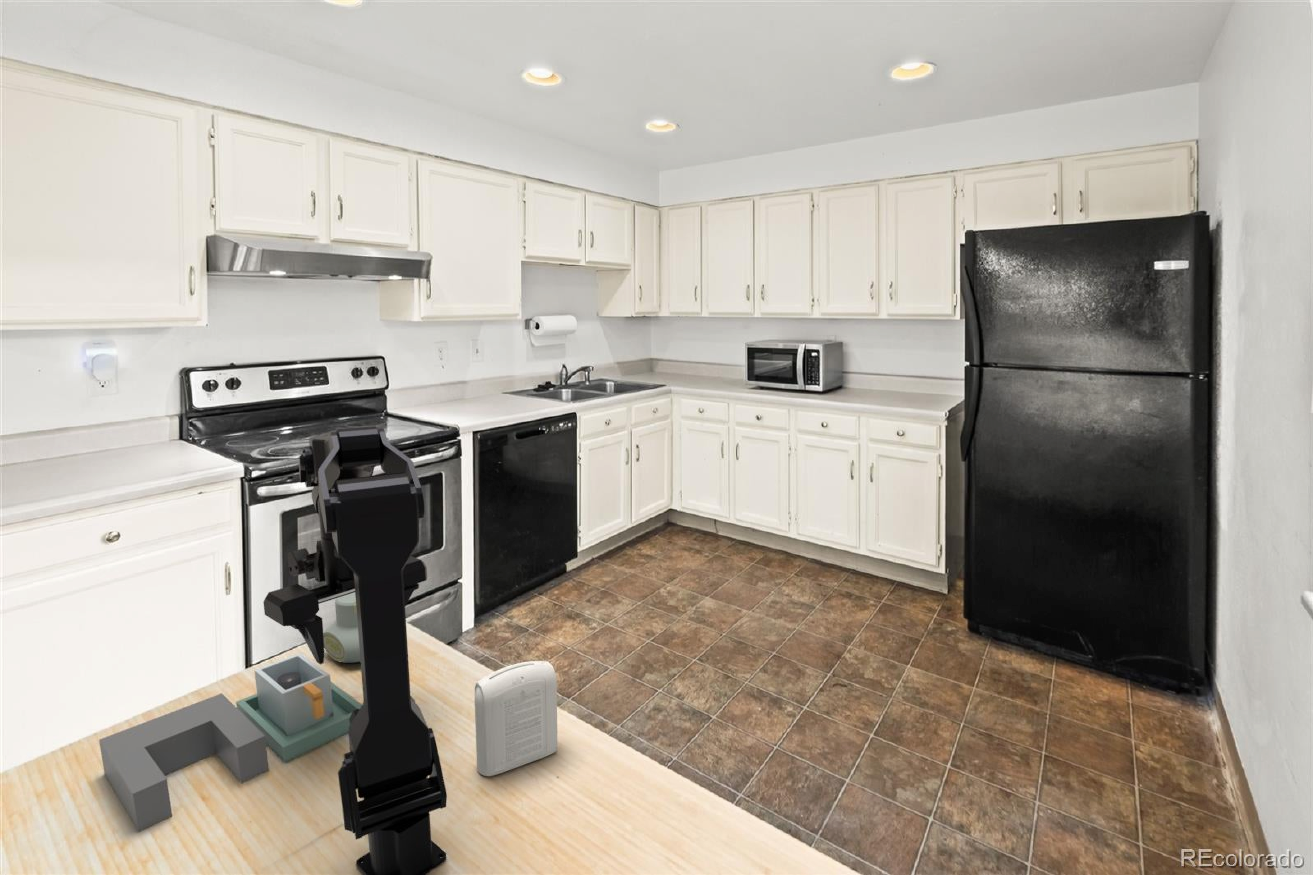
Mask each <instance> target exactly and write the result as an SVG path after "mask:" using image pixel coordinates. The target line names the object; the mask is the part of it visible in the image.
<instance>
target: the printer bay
mask: <svg viewBox="0 0 1313 875" xmlns="http://www.w3.org/2000/svg"><path fill="white" fill-rule="evenodd" d="M98 743H99V748H100V755H101V760H102V766H103V772H104V776H105V778H106V779H107V781H108V783H109V784H110V786H111V788H112V789H113V791H114V793H115V795H116V797H117V798H118V800H119V802H120V804H121V805H122V806H123V808H124V810H125V811H126V813H127V815H128V817H129V818H130V820H131V822H132V823H133V825H134V828H136V830H137V832H138V833H140V832H143V831H145V830H147V829H149V828H151V827H153V826H155V825H157V824H159V823H161V822H163V821H165V820H167V819H170V818H171V817H173V813H172V812H173V811H172V805H171V800H170V799H171V798H170V792H169V785H168V784H169V783H168V778H167V777H166V776H168V775H171V774H172V773H175V772H177V771H179V770H181V769H184V768H186V767H188V766H191V765H194V764H196V763H198V762H200V761H202V760H205V759H207V758H210V757H212V756H215V755H216V756H217V757H218V759H220V760H221V762H222V763H223V764H224V765H225V767H226V768H227V769H228V770H229V771H230V773H232V775H234V777H235V778H236V779H237V780H238V781H239V783H240V784H243V783H245V782H247V781H250V780H251V779H254V778H256V777H258V776H261V775H262V774H264V773H267V772H268V771H269V770H270V769H269V761H268V750H267V744H266V740H265V735H264V734H263V733H262V732H261V731H260V730H259V729H258V728H257V727H256V726H255V725H254V724H253V723H251V722H250V721H249V720H248V719H247V718H246V717H245V716H244V715H243V714H242V713H241V712H240V711H239V710H238V709H237V706H236V705H234V704H233V703H232V701H230V700H229V699H228V698H227V697H226V695H224V694H223V693H222V692H221V693H220V694H217V695H214V696H211V697H208V698H206V699H204V700H201V701H198V702H195V703H192V704H190V705H187V706H185V707H182V708H179V709H176V710H174V711H171V712H169V713H166V714H163V715H161V716H158V717H155V718H153V719H150V720H147V721H144V722H142V723H140V724H137V725H134V726H132V727H129V728H127V729H124V730H121V731H119V732H116V733H113V734H110V735H108V736H105V737H101V738H99V739H98Z"/></svg>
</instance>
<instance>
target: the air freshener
mask: <svg viewBox="0 0 1313 875" xmlns="http://www.w3.org/2000/svg"><path fill="white" fill-rule="evenodd" d="M334 605H335V606H334V607H335V617H336V619H335V620H334V622H332V623H330V625H328V627H326V629H325V630H324V631H323V637H324V651H325V652H326V653H327V655H328V656H329V657H331V659H332V660H334V661H336V662H339V663H345V664H346V663H347V664H348V663H349V664H356V663H361V660H360V648H359V635H358V622H357V609H356V596H355V592H354V593H351V594H348V595H345V596H342V597H339V598H335V599H334Z"/></svg>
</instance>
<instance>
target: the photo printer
mask: <svg viewBox="0 0 1313 875" xmlns="http://www.w3.org/2000/svg"><path fill="white" fill-rule="evenodd" d="M557 688H558V681H557V675H556V672H555V668H554V665H553V664H551V663H550V662H549V661H547V660H546V661H545V660H534V661H533V660H531V661H524V662H518V663H515V664H511V665H508V666H505V667H502V668H500V669H498V670H495V671H493V672H492V673H489V674H488V675H486V676H484V677H482V678H481V679H479V680H478V681H476V683H475V685H474V720H475V724H474V725H475V748H476V750H475V751H476V770H477V771H478V772H477V773H479V774H480V775H482V776H485V777H492V776H496V775H500V774H502V773H505V772H507V771H511V770H513V769H516V768H518V767H519V768H520V767H521V766H524V765H526V764H530V763H532V762H535V761H538V760H541V759H543V758H546V757H548V756H551V755H553V754H554V753H556V752H557V751H558V689H557Z"/></svg>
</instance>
